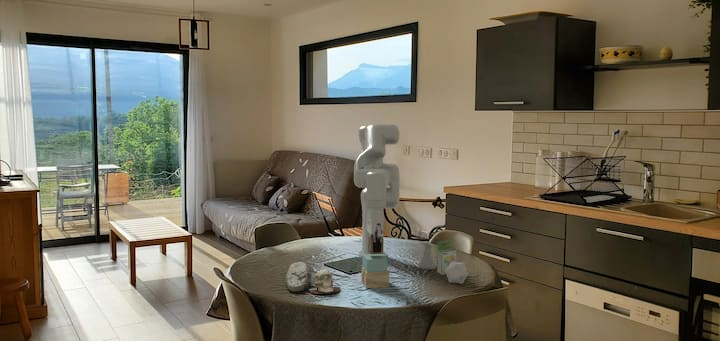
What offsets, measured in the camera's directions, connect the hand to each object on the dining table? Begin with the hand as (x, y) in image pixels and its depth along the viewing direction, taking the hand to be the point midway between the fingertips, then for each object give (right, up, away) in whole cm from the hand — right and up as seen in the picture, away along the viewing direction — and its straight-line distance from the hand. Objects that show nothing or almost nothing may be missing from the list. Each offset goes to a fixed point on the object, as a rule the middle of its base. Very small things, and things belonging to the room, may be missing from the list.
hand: (375, 250), depth 226 cm
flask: (+23, -11, +25) cm, 36 cm away
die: (+32, -13, +5) cm, 35 cm away
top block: (0, -8, +1) cm, 7 cm away
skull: (-19, -14, -7) cm, 25 cm away
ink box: (+30, -12, +16) cm, 36 cm away
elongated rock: (-30, -13, +7) cm, 34 cm away
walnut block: (0, -1, 0) cm, 1 cm away
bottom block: (0, -13, +1) cm, 13 cm away
